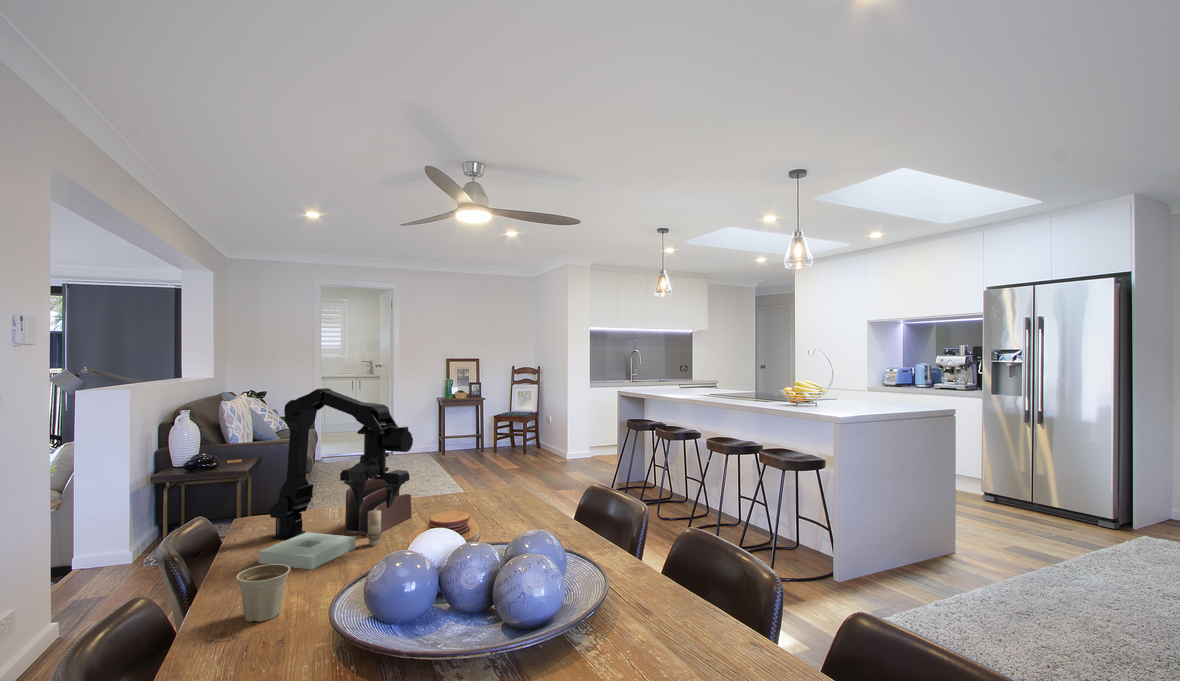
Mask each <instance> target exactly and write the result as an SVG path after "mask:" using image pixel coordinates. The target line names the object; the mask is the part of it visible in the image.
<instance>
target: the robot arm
mask: <svg viewBox="0 0 1180 681" xmlns="http://www.w3.org/2000/svg"><path fill="white" fill-rule="evenodd" d="M325 406H327V407H329V408H331V409H332V408H333V409H334V410H337V411H340V412H342V413H345V414H348V415H349V416H352V417H353V418H354V419H355V420H356V421H357V422H358V423H359V424H361V425H362V427H361V428H360V429H359V430H357V432H356V433H357V434H358V435H363V437H364V438H363V454H361V455H360V457H359V462H358V463H356V464H355V465H353V466H352V467H348V468H347V469H346V468H345V469H342V470H341V472H340V473H339V480H340V481H341V482H343V483H344V485H347V486H348V487H349V488H351V489H352V491H353V493H354V495H355V498H356V501H357V504H358V506H361V505H362V502H363V497H364V489H365V482H366V481H367V480H368V479H381V480H385V482H386V483H387V484H386V485H384V487H385V488H386V490H387V497H386V504H387V508H390V507H391V505H392V503H393V501H394V498H395V496H396V494H397V492H398V490H399V491H400V489H401V486H402V485H404V484H405V483H406V482H408V481H410V474H409V472H408V470H404V469H402V470H401V469H400V470H399V469H395V470H393V471H392V470H391V471H389V467H388V466H386V464H387V463H386V462H387V458H388V457H389V456H390V455H389V452H397V453H398V452H399V453H407V452H409V451H411V449H412V446H413V443H414V438H413V435H412V432H410V431H409V427H408V426H399V425H397V422H396V421H395V419H394V418H393V416H392V415H391V413H390V412H391V411H390V410H389V409H390V408H389V407H388V406H387V405H385V404H381V403H376V402H374V403H373V402H364V401H360V400H358V399H355V398H352V397H350V396H348V395H347V396H346V395H344V394H342V393H339V392H337V391H334V390H333V389H331V388H327V387H326V388H316V389H314V390H313V391H311V392H310V393H307V394H305V395H303V396H300V397H297V398H295V399H290V400H289V401H288V402H287V403H286V404H285V405H284V410H283V411H284V421H285V423H286V425H287V427H288V429H289V441H288V454H287V465H286V466H287V468H286V478H285V481H284V483H283V485H282V486H281V488H280V490H279V494H278V496H277V497H278V498H277V501H276V502H275V503H274V504H273V506H272V507H271V508H270V509H269V511H268V512H269V515H270V518H273V519H275V533H274V534H272V535H271V536H270V537H271V538H272V539H279V540H280V539H282V540H288V539H291V538H293V537H296V536H299V535H301V534H304V533H306V531H305V530H303V518H302V514H303V512H306V511H307V509H308V506H309V504H310V503H311V500H312V498H314V495H313V491H314V484H312V483H310V484H309V482H308V480H307V467H308V466H307V463H308V452H309V451H308V448H309V436H310V435H309V434H310V433H309V432H310V429H311V427H312V425H313V424H314V422H315V421H316V417H317V412H318V411H319V410H321V409H323V408H324V407H325Z"/></svg>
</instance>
